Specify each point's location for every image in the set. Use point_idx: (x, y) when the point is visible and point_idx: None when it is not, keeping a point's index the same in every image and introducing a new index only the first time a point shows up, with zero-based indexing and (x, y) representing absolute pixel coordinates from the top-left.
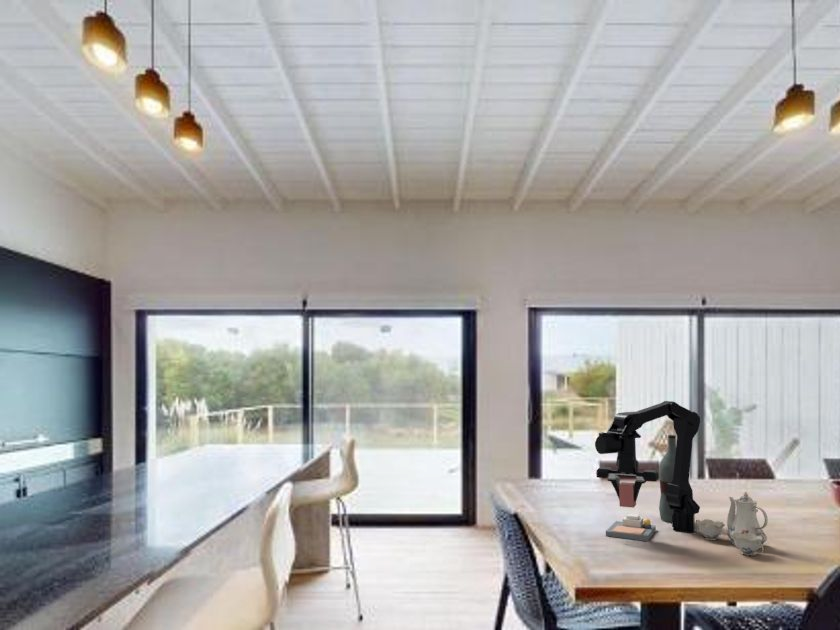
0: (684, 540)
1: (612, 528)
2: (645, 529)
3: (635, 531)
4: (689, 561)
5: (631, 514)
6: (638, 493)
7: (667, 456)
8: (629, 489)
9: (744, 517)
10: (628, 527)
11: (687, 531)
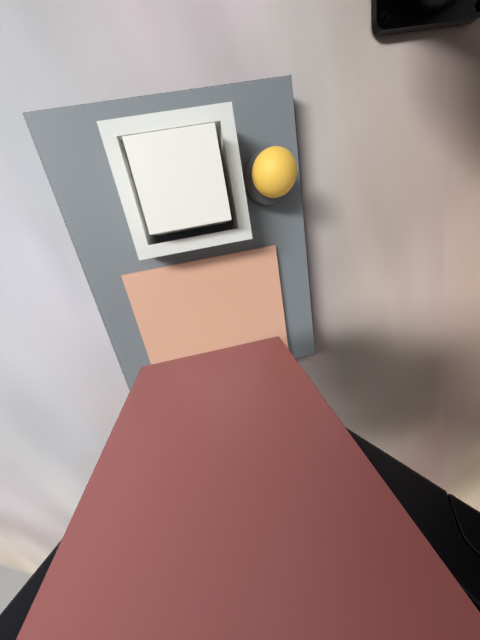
0: (432, 232)
1: (126, 328)
2: (270, 232)
3: (254, 335)
4: (448, 462)
5: (159, 158)
6: (399, 467)
7: None
8: None
9: None
10: (193, 279)
11: (449, 24)
